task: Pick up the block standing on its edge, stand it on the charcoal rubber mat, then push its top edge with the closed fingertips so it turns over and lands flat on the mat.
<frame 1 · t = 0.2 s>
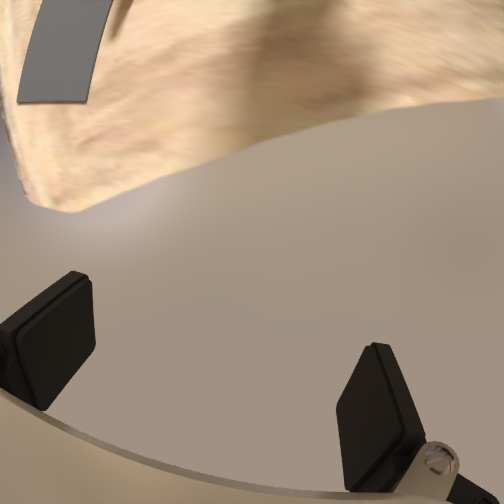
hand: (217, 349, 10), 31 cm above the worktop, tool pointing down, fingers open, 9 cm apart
mat: (61, 41, 33), on the worktop
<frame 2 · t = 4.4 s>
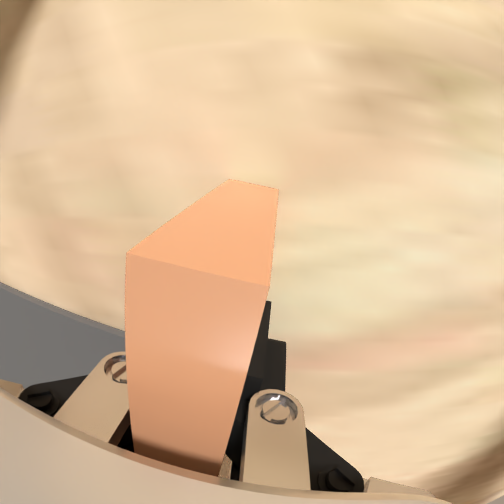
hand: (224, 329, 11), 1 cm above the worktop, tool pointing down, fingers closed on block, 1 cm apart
block: (226, 319, 12), on the worktop, touching gripper
mat: (47, 414, 16), on the worktop
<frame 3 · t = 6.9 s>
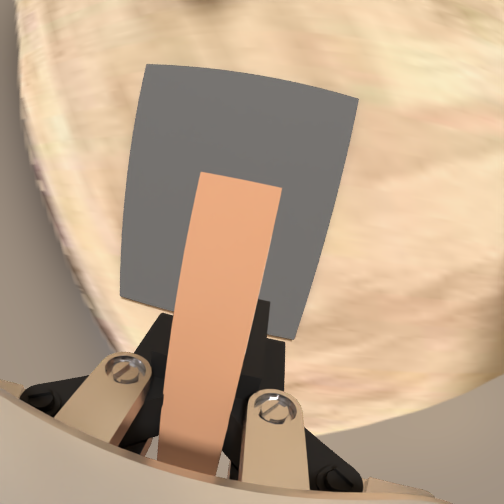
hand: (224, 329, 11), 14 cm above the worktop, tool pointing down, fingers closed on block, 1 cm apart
block: (230, 316, 13), point 12 cm above the worktop, tilted 14°, touching gripper
mat: (222, 204, 24), on the worktop
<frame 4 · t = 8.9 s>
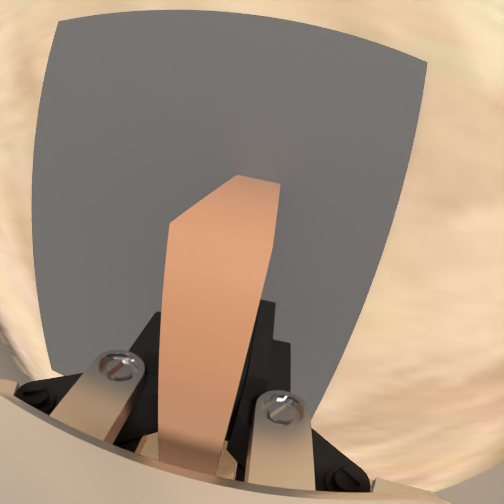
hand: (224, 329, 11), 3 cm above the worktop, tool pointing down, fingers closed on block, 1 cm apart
block: (234, 300, 13), resting on mat, touching gripper
mat: (176, 254, 13), on the worktop
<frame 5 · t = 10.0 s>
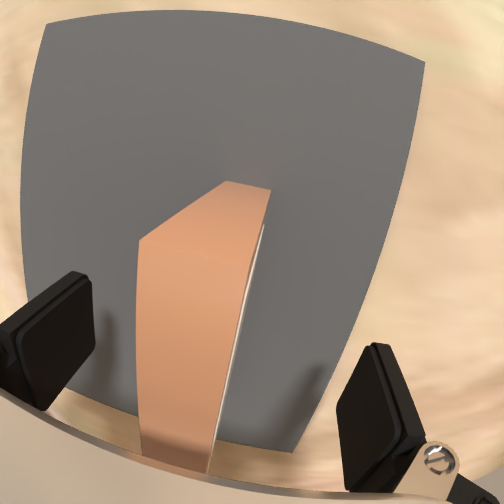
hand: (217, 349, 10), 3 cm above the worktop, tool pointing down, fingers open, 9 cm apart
block: (224, 309, 13), resting on mat
mat: (165, 262, 13), on the worktop
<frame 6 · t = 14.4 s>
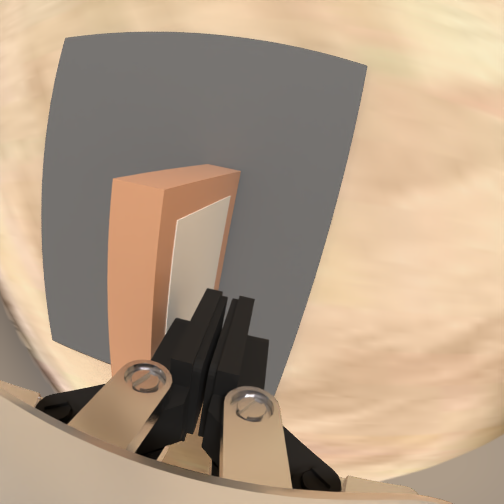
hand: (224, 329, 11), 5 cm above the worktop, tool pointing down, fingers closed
block: (206, 268, 16), point 1 cm above the worktop, tilted 8°, touching gripper, mat
mat: (161, 230, 16), on the worktop
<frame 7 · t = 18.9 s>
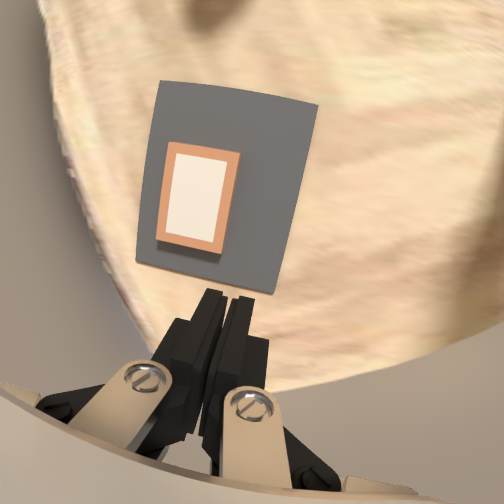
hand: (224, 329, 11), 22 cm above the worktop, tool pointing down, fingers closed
block: (231, 203, 31), point 1 cm above the worktop, tilted 90°, touching mat
mat: (217, 186, 31), on the worktop
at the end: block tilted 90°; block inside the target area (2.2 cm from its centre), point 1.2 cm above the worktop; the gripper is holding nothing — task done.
